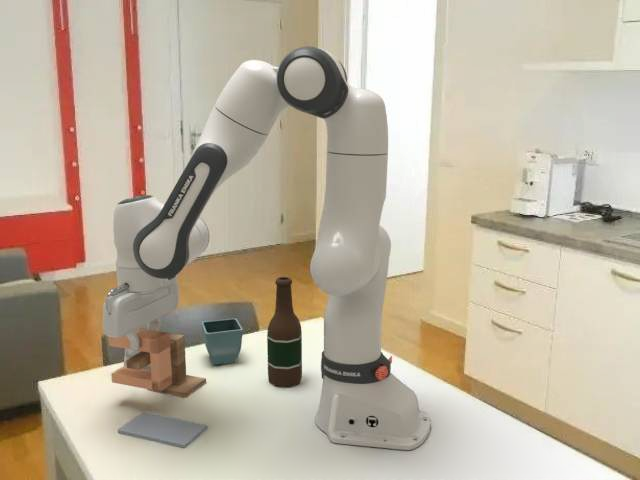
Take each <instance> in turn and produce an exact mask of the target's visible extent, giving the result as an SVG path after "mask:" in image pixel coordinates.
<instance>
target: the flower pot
mask: <svg viewBox="0 0 640 480" xmlns="http://www.w3.org/2000/svg"><path fill="white" fill-rule="evenodd" d="M201 328H202V329H201V330H202V336H203V342H204V345H205V346H204V347H205V348H206V350H207V351H206V352H207V353H208V356H209V359H210V360H211V362H212V363H213V365H223V364H229V363H230V364H231V363H236V361H237V359H238V358H239V355H240V353H241V350H242V344H243V342H242V341H243V331H244V329H243V326H241V324H240V322H239V319H237V318H226V319H216V320H206V321H202V322H201Z"/></svg>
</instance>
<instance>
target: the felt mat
mask: <svg viewBox="0 0 640 480" xmlns="http://www.w3.org/2000/svg"><path fill="white" fill-rule="evenodd" d="M208 427H209V426H208V424H204V423H200V422H194V421H191V420H186V419H181V418H177V417H172V416H166V415H162V414H158V413H152V412H148V411H144V410H143V411H142V412H140V413H139V414H137V416H135V417H133V418H132V419H131V420H129V421H128V422H126V423H125V424H124V425H122V426H121V427H120V428H118V429H117V433H118V434H121V435H126V436H131V437H133V438H138V439H144V440H149V441H153V442H156V443H161V444H166V445H170V446H175V447H178V448H181V449H182V448H183V449H186V448H187V447H188V446H189V445H190V444H191V443H193V442H194V441H195V440H196V439H197V438H199V436H200V435H202V434H203V433H205V431H206V430H207V429H208Z"/></svg>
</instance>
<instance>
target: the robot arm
mask: <svg viewBox="0 0 640 480" xmlns="http://www.w3.org/2000/svg"><path fill="white" fill-rule="evenodd" d="M239 65H240V66H239V67H238V68H237V69H236V70H235V71H234V73H233V74H232V75H231V77H230V79H229V80H228V81H227V83H226V85H225V86H223V89H222V91H221V92H220V94H219V95H218V97H217V100H216V102H215V104H214V105H213V108H212V109H211V111H210V113H209V116H208V118H207V120H206V121H205V122H206V123H205V125H204V127H203V129H202V132H201V134H200V136H199V139H198V140H197V143H196V145H195V147H194V150H193V152H192V154H191V155H190V158H189V160H188V163H187V164H186V166H185V168H184V170H183V171H182V173H181V174H180V177H179V178H178V180H177V182H176V184H175V185H174V187H173V189H172V190H171V193H170V194H169V195H168V197H167V200H166V201H165V203H163V202H161V201H160V200H158V198H157V197H156V196H153V195H150V194H149V195H148V194H146V195H137V196H133V197H129V198H128V197H127V198H126V199H123V200H121V201H119V202H118V203H117V204H116V205H115V207H114V211H113V224H112V225H113V243H114V246H115V248H116V253H117V255H116V256H117V257H116V260H115V268H116V280H117V282H116V283H117V287H113V288H111V289H109V291H108V293H107V295H106V296H105V298H104V303H103V305H102V306H103V307H102V308H103V309H102V332H103V334H104V335H105V336H106V337H108V336H109V337H115V338H120V337H123V336H124V335H126V336H127V337H128V339H129V340H130V347H131V349H135V350H137V349H139V348H141V347H142V339H139V338H138V336H137V333H138V328H140V327H142V326H144V325H146V324H148V323H149V330H153V331H159V330H160V327H161V324H162V321H163V320H162V317H163V316H165V315H166V314H168V313H171V312H172V311H174V310H176V309H177V308H178V307H179V306H178V305H179V301H180V293H179V292H180V291H179V290H180V289H179V282H178V280H177V278H178V275H179V273H181V271H182V270H183V269H184V268H185V267H186V266H189V264H190V263H192V262H193V261H195V260H196V259H197V258H198V257H200V255H202V254H203V253H204V252H205V251H206V249H208V246H209V242H210V230H209V228H208V226H207V224H206V222H205V221H204V219H202V218H201V215H202V214H203V212H204V210H205V208H206V207H207V204H208V203H209V201H210V199H211V198H212V197H213V194H214V193H215V192H216V191H217V190H218V188H219V187H221V186H222V184H223V183H224V182H226V181H227V180H228V179H229V178H230V177H232V176H233V175H234V174H236V173H238V172H239V171H241V170H242V169H244V168H245V167H246V166H247V165H249V164H250V163H251V161H252V160H253V159H254V158H255V156H256V155H257V154H258V152H259V151H260V149H261V148H262V146H263V145H264V144H265V142H266V139H267V138H268V136H269V134H270V132H271V131H272V129H273V127H274V125H275V123H276V121H277V119H278V118H279V116H280V114H282V113H283V112H284V111H285V110H286V109H289V108H291V107H292V108H293V109H295V110H297V111H300V112H302V113H305V114H308V115H311V116H314V117H316V118H320V119H323V120H324V122H325V125H326V135H327V138H326V139H327V140H326V161H325V162H326V164H325V165H326V166H325V190H324V191H325V192H324V193H325V194H324V199H323V206H322V211H321V217H320V221H319V227H318V233H317V238H316V239H317V240H316V242H315V243H316V244H315V248H314V249H315V250H314V252H313V255H312V257H311V259H310V265H309V266H310V267H309V269H310V270H309V271H310V275H311V278H312V281H313V283H314V284H315V285H316V287H317V288H318V289H319V290H320V291H322V292H323V293H325V294H327V295H328V299H327V302H326V307H325V308H324V309H325V310H324V313H323V350H322V352H321V359H320V360H321V361H320V372H321V379H322V384H321V385H322V386H321V391H320V393H321V395H320V400H319V404H318V409H317V412H316V415H315V424H316V426H317V427H318V428H319V429H320V430H321V431H322V432H324V433H326V435H327V437H328V439H329V441H330V442H331V443H333V444H340V445H351V446H362V447H370V448H371V447H373V448H374V447H375V448H380V449H383V448H384V449H392V450H401V451H412V450H414V449H416V448H418V447H420V446H421V445H422V444H423V443H424V442H425V441H426V440H427V438H428V437H429V435H430V433H431V432H430V431H431V428H432V427H431V426H432V423H431V418H430V416H429V414H428V413H426V412H424V411H420V405H419V400H418V396H417V395H416V393H415V391H414V390H413V389H412V388H410V387H409V386H408V385H407V384H405V383H403V381H402V380H400V379H399V378H398V377H397V376H395V375H394V374H393V373H392V372H391V369H392V368H391V367H392V366H391V364H392V363H393V356H392V355H391V356H389V358H387V357H386V356H385V355H384V354H383V352H382V324H383V323H382V321H383V310H384V302H385V298H386V297H385V295H386V289H387V284H388V283H387V281H388V274H389V273H388V272H389V266H390V265H389V263H390V256H391V255H390V254H391V248H392V242H391V238H390V235H389V233H388V232H387V230H386V229H385V228H384V227H383V226H381V225H380V222H381V218H382V212H383V210H384V209H383V208H384V204H385V202H386V198H387V182H388V181H387V180H388V165H389V164H388V162H389V161H388V159H389V127H388V125H389V123H388V117H387V116H388V115H387V110H386V109H387V108H386V104H385V101H384V99H383V98H382V97H381V95H379V94H378V93H376V92H374V91H372V90H369V89H365V88H357V87H354V86H353V87H352V86H351V85H350V84H349V83H348V77H347V72H346V69H345V67H344V65H343V63H342V62H340V60H338V58H337V57H336V56H335V55H334V53H331V52H330V51H328V50H326V49H324V48H319V47H315V46H307V45H306V46H300V47H298V48H295V49H293V50H292V51H290V52H289V53H288V54H286V55H285V56H284V58H283V59H282V60H281V62H280V64H279V65H278V66H275V65H272V64H271V63H269V62H266V61H264V60H260V59H259V60H258V59H250V60H249V59H248V60H245V61H244V62H242V63H241V64H239Z"/></svg>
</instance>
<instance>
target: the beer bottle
mask: <svg viewBox="0 0 640 480" xmlns="http://www.w3.org/2000/svg"><path fill="white" fill-rule="evenodd" d="M274 283H275V285H276V292H275V309H274V315H273V316H272V318H271V319H270V321H269V323H268V327H267V332H266V333H267V334H266V343H267V344H266V345H267V348H266V349H267V376H268V377H267V378H268V383H269V384H271V385H273V386H274V387H277V388H278V387H279V388H292V387H294V386H297V385H299V384H300V382H301V380H302V375H303V361H302V360H303V352H302V351H303V345H302V344H303V341H302V340H303V337H302V332H303V331H302V325H301V322H300V320H299V318H298V317H297V315H296V313H295V311H294V305H293V295H292V284H293V280H292V278H290V277H289V276H280V277H279V276H278V277H277V278H276V279H275V282H274Z"/></svg>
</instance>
